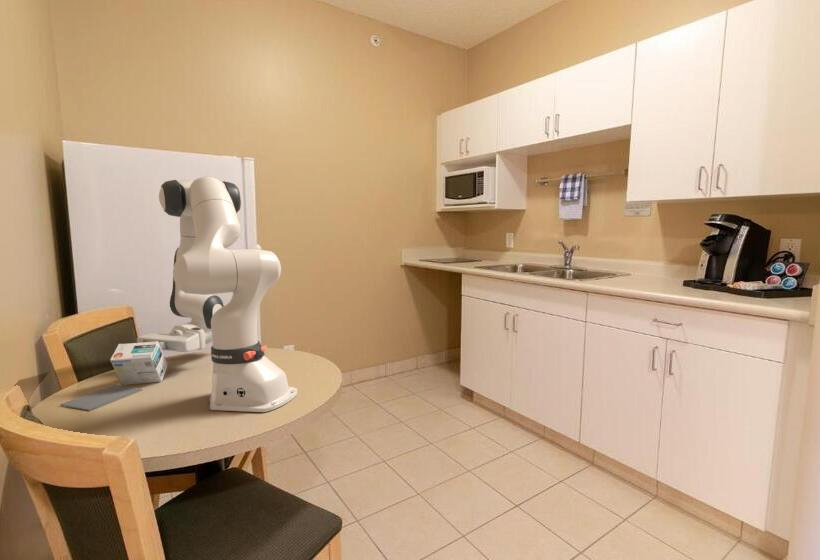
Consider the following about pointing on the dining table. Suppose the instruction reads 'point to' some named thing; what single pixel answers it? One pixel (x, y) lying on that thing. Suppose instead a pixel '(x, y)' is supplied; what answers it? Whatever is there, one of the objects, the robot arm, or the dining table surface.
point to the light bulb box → (139, 362)
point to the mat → (101, 397)
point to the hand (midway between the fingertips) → (145, 348)
